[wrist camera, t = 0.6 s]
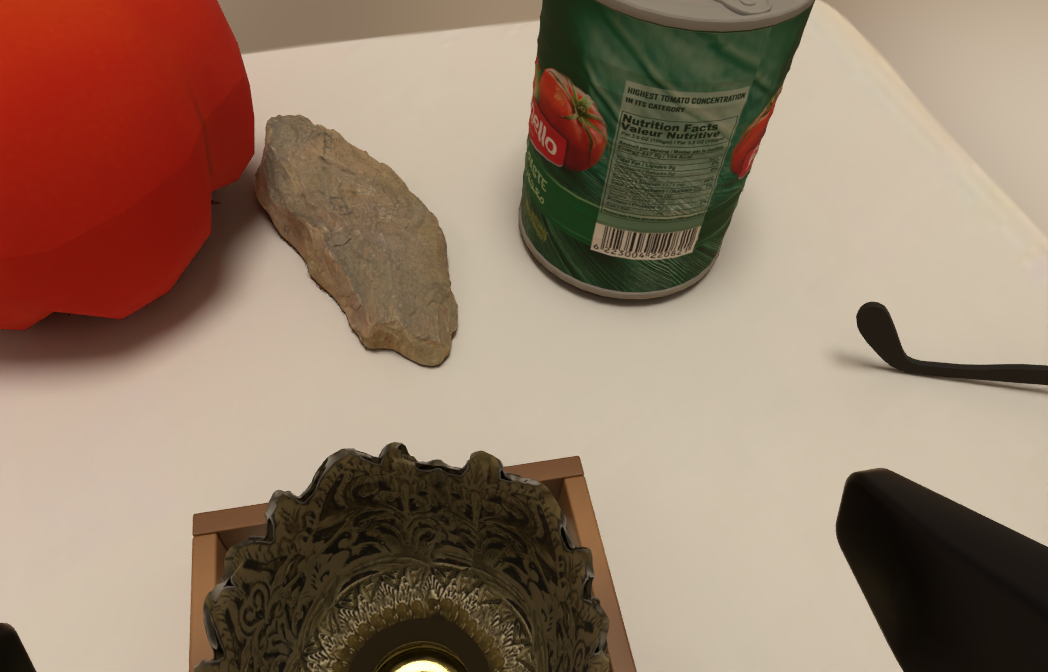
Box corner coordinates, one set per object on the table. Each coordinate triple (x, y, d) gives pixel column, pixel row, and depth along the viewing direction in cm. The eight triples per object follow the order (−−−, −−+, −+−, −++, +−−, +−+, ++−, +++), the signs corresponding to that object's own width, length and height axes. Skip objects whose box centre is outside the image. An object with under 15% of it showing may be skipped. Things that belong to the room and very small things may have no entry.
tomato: (-493, 143, 17) (-139, 400, 26) (134, 69, 18) (280, 347, 26) (-224, -152, 25) (-21, 119, 34) (205, -200, 26) (299, 81, 34)
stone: (376, 408, 27) (497, 361, 30) (391, 361, 25) (519, 315, 28) (216, 142, 32) (332, 122, 35) (218, 83, 30) (341, 67, 33)
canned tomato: (483, 187, 32) (498, -100, 24) (647, 138, 35) (715, -135, 27) (585, 330, 28) (648, 47, 20) (762, 262, 31) (886, -13, 22)
